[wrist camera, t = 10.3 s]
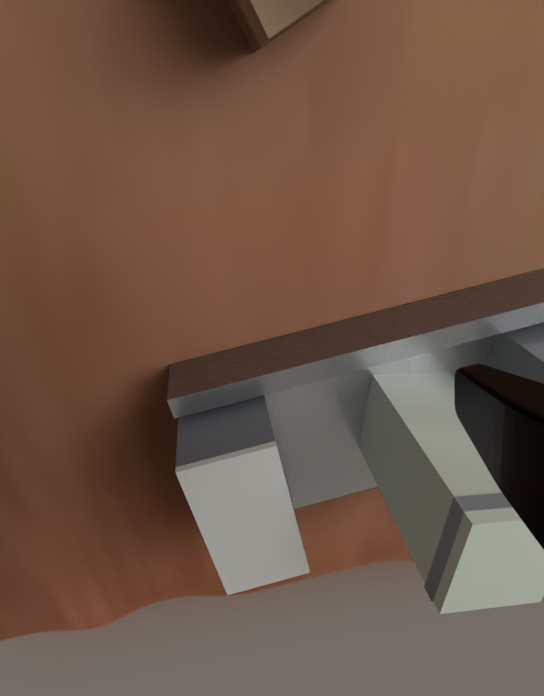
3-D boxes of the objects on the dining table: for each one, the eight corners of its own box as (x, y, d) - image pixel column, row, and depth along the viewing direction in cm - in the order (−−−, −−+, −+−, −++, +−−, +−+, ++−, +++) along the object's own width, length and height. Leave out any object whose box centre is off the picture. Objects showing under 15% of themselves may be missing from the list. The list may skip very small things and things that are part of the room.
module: (222, 521, 25) (227, 595, 21) (178, 407, 21) (175, 472, 17) (292, 502, 25) (310, 572, 21) (261, 386, 21) (276, 445, 18)
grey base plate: (223, 506, 27) (226, 550, 24) (170, 364, 22) (166, 400, 19) (531, 424, 27) (567, 458, 25) (546, 268, 22) (593, 289, 20)
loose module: (358, 448, 24) (438, 615, 16) (371, 373, 22) (471, 523, 14) (430, 444, 25) (541, 602, 17) (450, 371, 23) (588, 513, 15)
